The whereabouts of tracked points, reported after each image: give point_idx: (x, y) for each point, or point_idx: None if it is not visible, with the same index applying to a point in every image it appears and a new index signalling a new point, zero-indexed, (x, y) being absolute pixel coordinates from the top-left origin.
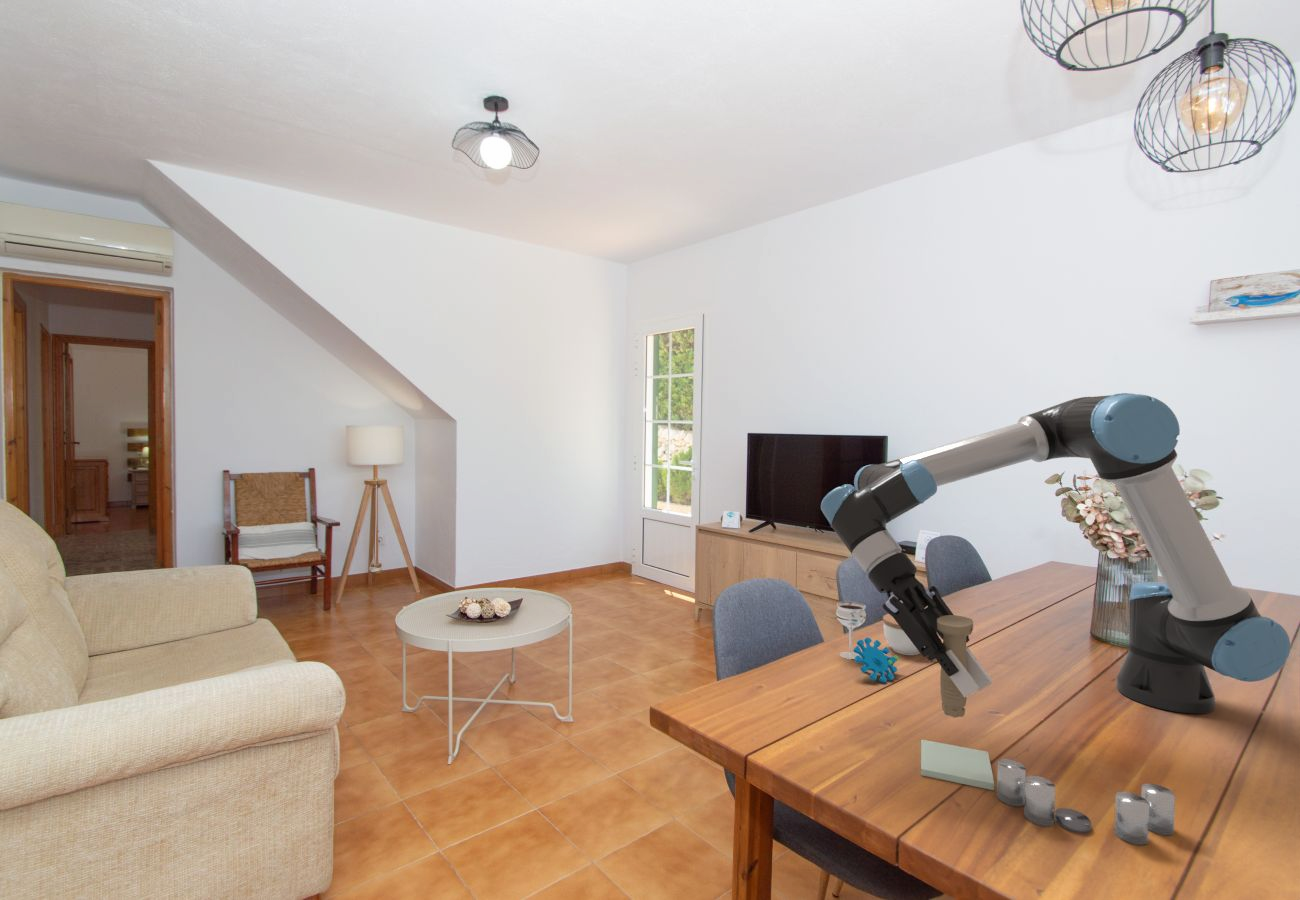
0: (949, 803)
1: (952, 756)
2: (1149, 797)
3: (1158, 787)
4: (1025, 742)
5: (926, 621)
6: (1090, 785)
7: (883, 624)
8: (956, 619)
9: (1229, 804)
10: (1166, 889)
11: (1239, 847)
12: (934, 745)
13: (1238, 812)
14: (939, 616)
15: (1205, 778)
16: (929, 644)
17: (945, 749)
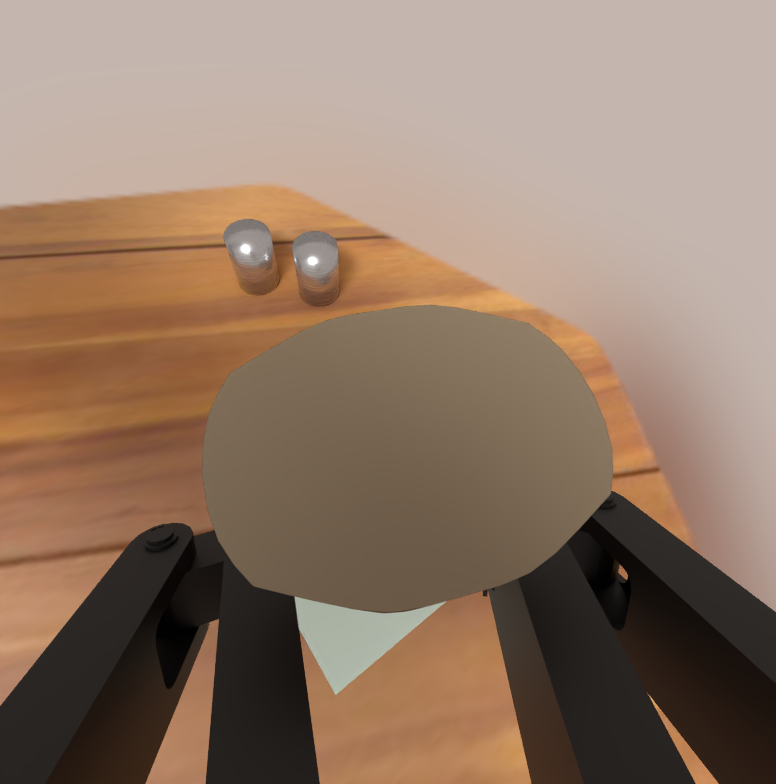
0: None
1: None
2: (269, 245)
3: (233, 237)
4: (84, 534)
5: (599, 666)
6: (199, 372)
7: None
8: (355, 451)
9: (89, 244)
10: (402, 242)
11: (223, 219)
12: (336, 643)
13: (109, 234)
14: (299, 716)
15: (2, 279)
16: (639, 513)
17: (330, 610)
